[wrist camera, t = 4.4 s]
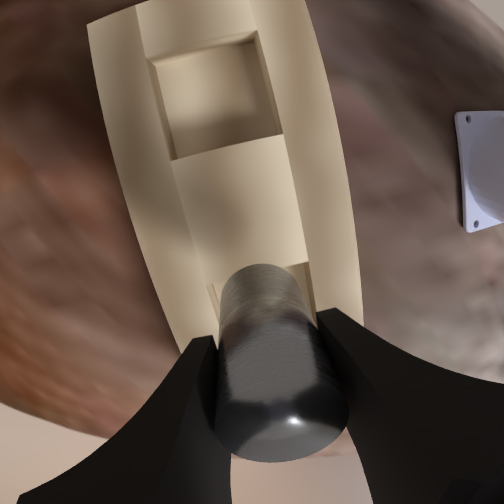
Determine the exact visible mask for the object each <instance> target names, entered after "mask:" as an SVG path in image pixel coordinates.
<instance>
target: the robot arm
mask: <svg viewBox="0 0 504 504" xmlns="http://www.w3.org/2000/svg"><path fill="white" fill-rule="evenodd" d="M466 116H467V118H468V121H466ZM455 126H456V133H457V141H458V149H459V158H460V169H461V182H462V200H463V228H464V230H465V231H467V232H469V233H471V232H474V231H478V230H481V229H484V228H488V227H491V226H494V225H497V224H500V223H504V111H465V112H457V113H456V114H455ZM474 222H475V225H474ZM315 314H316V321H317V328H318V332H319V334H320V337H321V339H322V341H323V344H324V346H325V349H326V351H327V353H328V356H329V358H330V361H331V363H332V365H333V368H334V370H335V373H336V375H337V378H338V380H339V383H340V385H341V387H342V390H343V392H344V395H345V397H346V400H347V402H348V405H349V411H350V413H349V419H348V423H347V425H346V427H347V429H348V431H349V434H350V436H351V438H352V440H353V443H354V445H355V447H356V449H357V452H358V455H359V457H360V460H361V463H362V466H363V469H364V473H365V476H366V479H367V483H368V486H369V489H370V493H371V497H372V500H373V504H504V384H502V383H496V382H491V381H486V380H482V379H478V378H473V377H470V376H467V375H463V374H460V373H457V372H453V371H450V370H447V369H444V368H442V367H439V366H437V365H434V364H432V363H429V362H427V361H424V360H422V359H420V358H417V357H415V356H413V355H411V354H409V353H407V352H405V351H403V350H401V349H400V348H398V347H396V346H394V345H392V344H390V343H389V342H387V341H385V340H384V339H382V338H380V337H379V336H377V335H376V334H374V333H372V332H371V331H369V330H368V329H366V328H365V327H363V326H362V325H360V324H359V323H358V322H356V321H355V320H353V319H352V318H350V317H349V316H348V315H346V314H345V313H343V312H342V311H341V310H339V309H338V308H336V307H334V308H330V309H326V310H322V311H318V312H315ZM217 359H218V349H217V347H216V344H215V341H214V338H213V335H208V336H202V337H197V338H192V340H191V341H190V343H189V344H188V345H187V347H186V348H185V350H184V351H183V353H182V354H181V356H180V357H179V359H178V360H177V362H176V363H175V364H174V366H173V367H172V369H171V370H170V372H169V373H168V374H167V376H166V377H165V379H164V380H163V381H162V383H161V384H160V385H159V386H158V388H157V389H156V390H155V391H154V393H153V394H152V395H151V396H150V398H149V399H148V400H147V401H146V403H145V404H144V405H143V406H142V407H141V409H140V410H139V411H138V412H137V413H136V414H135V415H134V416H133V417H132V418H131V419H130V420H129V421H128V422H127V423H126V424H125V425H124V426H123V427H122V428H121V429H120V430H119V431H118V432H117V433H116V434H115V435H114V436H113V437H111V438H110V439H109V440H108V441H107V442H106V443H104V444H103V445H102V446H100V447H99V448H98V449H97V450H96V451H94V452H93V453H92V454H91V455H89V456H88V457H87V458H85V459H84V460H82V461H81V462H80V463H78V464H77V465H76V466H74V467H72V468H71V469H69V470H67V471H66V472H64V473H62V474H61V475H59V476H57V477H56V478H54V479H52V480H50V481H48V482H46V483H44V484H42V485H40V486H38V487H36V488H34V489H32V490H30V491H28V492H26V493H23V494H21V495H20V496H19V498H18V501H17V504H232V498H231V488H230V466H231V465H230V464H231V452H230V451H228V450H227V449H226V448H224V446H223V445H222V444H221V443H220V442H219V440H218V438H217V436H216V432H215V411H216V383H217Z"/></svg>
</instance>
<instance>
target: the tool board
mask: <svg viewBox="0 0 504 504" xmlns="http://www.w3.org/2000/svg"><path fill="white" fill-rule="evenodd" d="M87 30H88V37H89V44H90V50H91V56H92V62H93V68H94V73H95V78H96V84H97V89H98V94H99V98H100V103H101V108H102V112H103V117H104V121H105V126H106V130H107V134H108V138H109V142H110V146H111V150H112V154H113V158H114V162H115V165H116V169H117V173H118V176H119V180H120V183H121V187H122V190H123V194H124V197H125V201H126V204H127V207H128V210H129V214H130V217H131V220H132V223H133V226H134V229H135V233H136V236H137V239H138V242H139V245H140V248H141V251H142V253H143V256H144V259H145V262H146V265H147V268H148V271H149V273H150V276H151V279H152V282H153V284H154V287H155V290H156V292H157V295H158V298H159V300H160V303H161V305H162V308H163V311H164V313H165V316H166V318H167V321H168V323H169V326H170V328H171V331H172V333H173V335H174V338H175V340H176V343H177V345H178V347H179V350H180V352H181V354H182V353H183V351H184V350H185V348H186V347H187V345H188V344H189V343H190V341H191V340H192V338H197V337H202V336H208V335H213V338H214V341H215V344H216V347H217V349H218V337H219V317H220V299H221V293H222V290H223V287H224V285H225V283H226V282H227V281H228V279H229V278H230V277H231V276H232V275H233V274H234V273H236V272H237V271H238V270H240V269H242V268H244V267H247V266H250V265H254V264H271V265H276V266H278V267H281V268H283V269H285V270H286V271H288V272H289V273H290V274H291V275H292V276H293V277H294V278H295V280H296V281H297V283H298V285H299V287H300V290H301V292H302V294H303V297H304V299H305V301H306V304H307V306H308V308H309V311H310V313H311V315H312V318H313V320H314V322H315V325H316V327H317V321H316V314H315V312H318V311H322V310H326V309H330V308H334V307H336V308H338V309H339V310H341V311H342V312H343V313H345V314H346V315H348V316H349V317H350V318H352V319H353V320H355V321H356V322H358V323H359V324H360V325H362V326H363V327H364V322H363V307H362V293H361V281H360V271H359V261H358V251H357V242H356V234H355V226H354V219H353V211H352V204H351V198H350V191H349V185H348V179H347V173H346V167H345V161H344V155H343V150H342V145H341V140H340V135H339V130H338V125H337V120H336V115H335V111H334V106H333V102H332V97H331V93H330V89H329V85H328V80H327V76H326V72H325V68H324V65H323V61H322V57H321V53H320V50H319V46H318V42H317V39H316V35H315V32H314V29H313V25H312V22H311V19H310V15H309V12H308V9H307V6H306V3H305V0H149V1H146V2H143V3H140V4H137V5H134V6H131V7H128V8H126V9H123V10H120V11H118V12H115V13H113V14H110V15H108V16H105V17H103V18H101V19H98V20H96V21H94V22H92V23H89V24H87ZM317 329H318V328H317Z"/></svg>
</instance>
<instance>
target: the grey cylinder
mask: <svg viewBox="0 0 504 504" xmlns="http://www.w3.org/2000/svg"><path fill="white" fill-rule="evenodd" d="M349 413H350V411H349V405H348V402H347V400H346V397H345V395H344V392H343V390H342V387H341V385H340V383H339V380H338V378H337V375H336V373H335V370H334V368H333V365H332V363H331V361H330V358H329V356H328V353H327V351H326V349H325V346H324V344H323V341H322V339H321V337H320V334H319V332H318V329H317V327H316V325H315V322H314V320H313V318H312V315H311V313H310V311H309V308H308V306H307V304H306V301H305V299H304V297H303V294H302V292H301V290H300V287H299V285H298V283H297V281H296V280H295V278H294V277H293V276H292V275H291V274H290V273H289V272H288V271H286V270H285V269H283V268H281V267H278V266H276V265H271V264H254V265H250V266H247V267H244V268H242V269H240V270H238V271H237V272H236V273H234V274H233V275H232V276H231V277H230V278H229V279H228V281H227V282H226V283H225V285H224V287H223V290H222V293H221V299H220V317H219V337H218V359H217V383H216V411H215V432H216V436H217V438H218V440H219V442H220V443H221V444H222V445H223V446H224V448H226V449H227V450H228V451H230V452H231V453H233V454H235V455H237V456H239V457H242V458H245V459H248V460H252V461H259V462H285V461H291V460H296V459H300V458H303V457H306V456H309V455H311V454H314V453H316V452H318V451H320V450H322V449H323V448H325V447H326V446H328V445H329V444H331V443H332V442H333V441H334V440H335V439H336V438H337V437H338V436H339V435H340V434H341V433H342V432H343V430H344V429H345V427H346V425H347V423H348V419H349Z"/></svg>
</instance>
